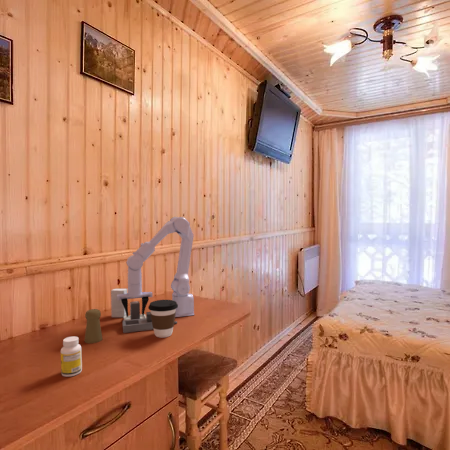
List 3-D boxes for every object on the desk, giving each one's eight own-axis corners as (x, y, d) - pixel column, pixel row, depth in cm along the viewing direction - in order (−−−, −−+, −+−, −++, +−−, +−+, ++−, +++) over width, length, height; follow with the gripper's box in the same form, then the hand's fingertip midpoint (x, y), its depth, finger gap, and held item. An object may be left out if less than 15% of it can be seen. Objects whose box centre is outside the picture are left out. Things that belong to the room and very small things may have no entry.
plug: (139, 317, 141) (138, 300, 141) (139, 319, 138) (139, 302, 138) (130, 318, 140) (130, 301, 140) (131, 320, 137) (130, 303, 137)
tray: (145, 316, 144) (145, 314, 144) (146, 321, 137) (146, 318, 137) (123, 318, 141) (123, 316, 141) (124, 324, 134) (124, 321, 134)
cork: (106, 338, 119) (105, 308, 119) (94, 344, 113) (93, 313, 113) (92, 336, 121) (92, 306, 121) (80, 342, 115) (80, 311, 115)
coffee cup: (183, 332, 125) (183, 301, 124) (165, 342, 115) (165, 308, 115) (161, 327, 130) (161, 297, 129) (142, 336, 120) (142, 304, 120)
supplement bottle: (65, 368, 95) (65, 335, 95) (84, 367, 96) (84, 335, 96) (57, 377, 90) (57, 342, 90) (77, 376, 91) (77, 342, 90)
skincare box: (128, 314, 147) (127, 288, 147) (124, 317, 143) (123, 290, 142) (115, 314, 148) (114, 288, 147) (111, 317, 143) (110, 290, 143)
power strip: (175, 320, 138) (175, 307, 138) (179, 326, 132) (178, 312, 131) (122, 327, 131) (122, 313, 131) (123, 332, 124) (123, 318, 124)
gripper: (150, 280, 145) (151, 310, 145) (116, 282, 140) (117, 314, 140) (153, 283, 138) (153, 315, 139) (117, 286, 133) (117, 319, 134)
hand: (135, 315), depth 139 cm, fingers open, 6 cm apart
